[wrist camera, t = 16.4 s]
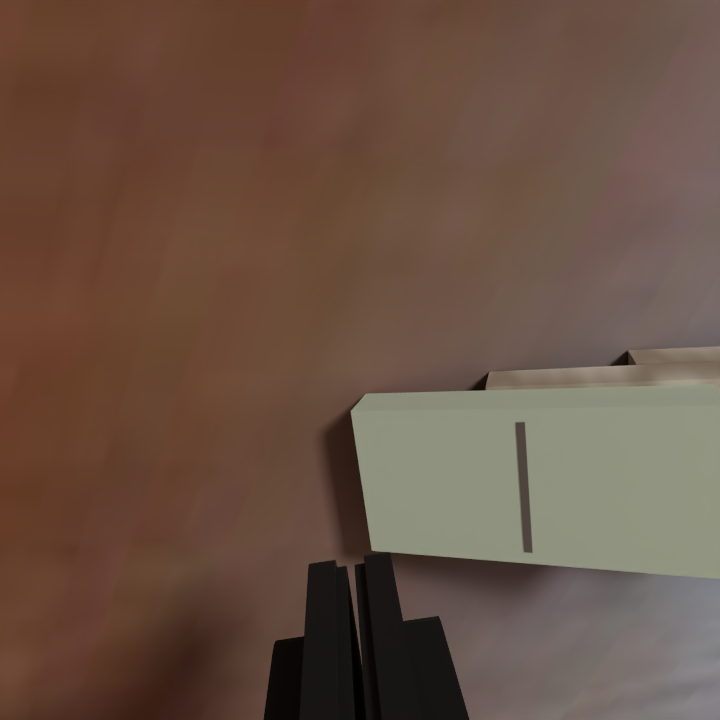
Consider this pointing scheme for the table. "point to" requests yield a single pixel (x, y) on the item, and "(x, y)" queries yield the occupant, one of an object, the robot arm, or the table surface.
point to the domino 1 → (608, 376)
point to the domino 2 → (547, 476)
